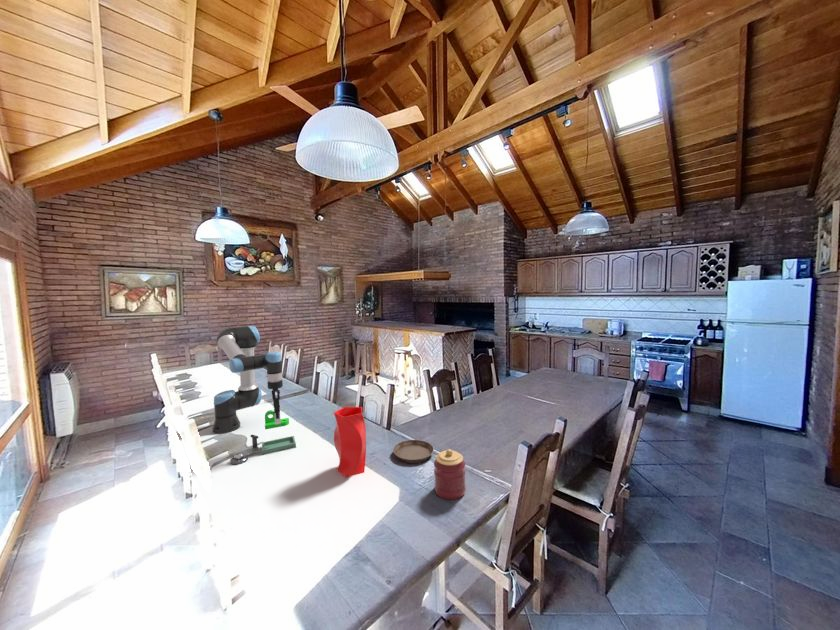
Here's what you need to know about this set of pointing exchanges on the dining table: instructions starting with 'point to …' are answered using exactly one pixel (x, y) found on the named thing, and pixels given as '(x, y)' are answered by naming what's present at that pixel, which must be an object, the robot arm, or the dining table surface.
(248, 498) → the dining table surface
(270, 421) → the mechanical part
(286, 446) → the tray
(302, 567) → the dining table surface
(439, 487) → the canister
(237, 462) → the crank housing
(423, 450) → the plant saucer
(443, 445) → the dining table surface
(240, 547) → the dining table surface
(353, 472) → the vase
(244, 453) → the crank
